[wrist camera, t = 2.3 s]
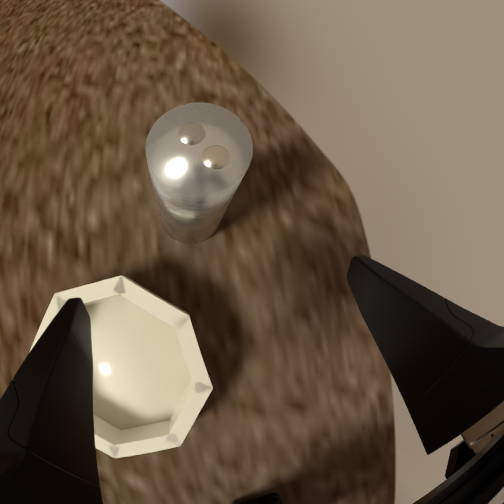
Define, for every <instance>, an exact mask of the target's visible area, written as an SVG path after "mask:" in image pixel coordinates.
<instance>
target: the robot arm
mask: <svg viewBox="0 0 504 504" xmlns="http://www.w3.org/2000/svg"><path fill="white" fill-rule="evenodd" d="M347 280H348V283H349V285H350V288H351V290H352V292H353V295H354V297H355V300H356V302H357V304H358V307H359V309H360V312H361V314H362V316H363V318H364V320H365V322H366V324H367V326H368V328H369V330H370V332H371V334H372V336H373V338H374V340H375V342H376V344H377V345H378V347H379V349H380V351H381V353H382V355H383V357H384V360H385V362H386V364H387V366H388V368H389V370H390V372H391V374H392V376H393V378H394V380H395V382H396V384H397V386H398V389H399V391H400V393H401V395H402V397H403V399H404V402H405V404H406V406H407V408H408V411H409V413H410V415H411V418H412V420H413V422H414V424H415V426H416V429H417V431H418V434H419V436H420V439H421V441H422V443H423V446H424V448H425V451H426V453H427V454H428V455H429V454H430V453H432V452H434V451H435V450H437V449H439V448H440V447H442V446H443V445H445V444H447V443H448V442H450V441H451V440H453V439H454V438H456V437H457V436H459V435H460V434H461V436H462V437H463V440H462V441H461V442H460V443H459V444H457V445H456V446H455V447H454V448H452V449H451V451H450V456H449V460H448V465H447V469H446V473H445V477H446V479H447V480H445V481H444V482H443V483H442V484H440V485H439V486H437V487H436V488H435V489H433V490H432V491H431V492H429V493H428V494H426V495H425V496H424V497H422V498H421V499H419V500H418V501H416V502H415V503H413V504H504V327H501V326H498V325H496V324H494V323H492V322H490V321H488V320H486V319H484V318H482V317H480V316H478V315H476V314H474V313H472V312H470V311H468V310H466V309H464V308H462V307H460V306H458V305H456V304H454V303H453V302H451V301H449V300H447V299H445V298H443V297H442V296H440V295H438V294H437V293H435V292H433V291H431V290H429V289H428V288H426V287H424V286H422V285H420V284H418V283H416V282H415V281H413V280H411V279H409V278H407V277H405V276H403V275H401V274H399V273H398V272H396V271H394V270H392V269H390V268H388V267H386V266H384V265H382V264H380V263H379V262H377V261H374V260H373V259H371V258H369V257H367V256H365V255H359V256H354V257H353V258H352V260H351V263H350V266H349V270H348V273H347ZM275 497H276V498H275ZM272 498H275V499H272ZM0 504H103V502H102V496H101V490H100V484H99V476H98V468H97V459H96V449H95V435H94V416H93V356H92V340H91V320H90V316H89V314H88V311H87V309H86V307H85V305H84V303H83V301H82V299H81V298H79V297H77V298H70V299H68V300H67V301H66V302H65V304H64V305H63V306H62V308H61V309H60V310H59V312H58V313H57V314H56V316H55V317H54V318H53V320H52V321H51V322H50V324H49V325H48V327H47V328H46V329H45V331H44V332H43V334H42V335H41V336H40V338H39V339H38V341H37V342H36V344H35V345H34V347H33V348H32V350H31V351H30V353H29V354H28V356H27V357H26V359H25V360H24V362H23V363H22V365H21V366H20V368H19V370H18V371H17V373H16V374H15V376H14V378H13V380H12V381H11V382H10V384H9V386H8V387H7V389H6V391H5V392H4V394H3V395H2V397H1V399H0ZM242 504H283V503H282V501H281V499H280V497H279V495H278V494H277V493H272V494H269V495H266V496H264V497H261V498H258V499H255V500H252V501H248V502H245V503H242Z"/></svg>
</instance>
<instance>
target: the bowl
mask: <svg viewBox="0 0 504 504" xmlns="http://www.w3.org/2000/svg"><path fill="white" fill-rule="evenodd" d="M77 297H79V298H81V299H82V301H83V303H84V305H85V307H86V309H87V311H88V314H89V316H90V320H91V340H92V356H93V416H94V435H95V448H97V449H99V450H101V451H102V452H104V453H106V454H108V455H110V456H112V457H114V458H120V457H127V456H133V455H139V454H145V453H150V452H155V451H160V450H165V449H169V448H174V447H178V446H181V444H182V442H183V440H184V439H185V437H186V435H187V434H188V432H189V430H190V428H191V427H192V425H193V423H194V421H195V420H196V418H197V416H198V414H199V412H200V411H201V409H202V407H203V405H204V404H205V402H206V400H207V398H208V396H209V395H210V393H211V391H212V389H213V386H212V384H211V381H210V378H209V376H208V373H207V370H206V367H205V364H204V361H203V358H202V355H201V352H200V349H199V346H198V343H197V340H196V336H195V333H194V330H193V327H192V323H191V320H190V317H189V314H188V313H187V312H185V311H184V310H182V309H180V308H178V307H177V306H175V305H173V304H171V303H170V302H168V301H166V300H164V299H163V298H161V297H159V296H158V295H156V294H154V293H153V292H151V291H149V290H148V289H146V288H144V287H143V286H141V285H139V284H138V283H136V282H135V281H133V280H132V279H129V278H127V277H125V276H122V275H121V276H117V277H114V278H110V279H106V280H103V281H99V282H95V283H92V284H88V285H84V286H81V287H77V288H73V289H70V290H66V291H63V292H59V293H55V294H54V297H53V299H52V301H51V303H50V305H49V307H48V309H47V312H46V314H45V316H44V318H43V321H42V323H41V325H40V328H39V330H38V332H37V335H36V337H35V340H34V342H33V345H32V347H31V350H32V348H33V347H34V345H35V344H36V342H37V341H38V339H39V338H40V336H41V335H42V334H43V332H44V331H45V329H46V328H47V327H48V325H49V324H50V322H51V321H52V320H53V318H54V317H55V316H56V314H57V313H58V312H59V310H60V309H61V308H62V306H63V305H64V304H65V302H66V301H67V300H68V299H70V298H77ZM31 350H30V351H31Z"/></svg>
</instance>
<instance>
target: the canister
mask: <svg viewBox="0 0 504 504" xmlns="http://www.w3.org/2000/svg"><path fill="white" fill-rule="evenodd" d="M252 155H253V144H252V139H251V135H250V133H249V131H248V129H247V127H246V126H245V124H244V123H243V122H242V121H241V120H240V119H239V118H238V117H237V116H236V115H235V114H233V113H232V112H230V111H229V110H227V109H225V108H223V107H220V106H217V105H214V104H209V103H189V104H184V105H181V106H178V107H175V108H173V109H171V110H169V111H168V112H166V113H165V114H163V115H162V116H161V117H160V118H159V119H158V120H157V121H156V122H155V124H154V125H153V126H152V128H151V130H150V132H149V134H148V137H147V141H146V157H147V162H148V166H149V171H150V176H151V181H152V185H153V190H154V194H155V198H156V203H157V207H158V211H159V215H160V219H161V223H162V226H163V228H164V229H165V231H166V232H167V233H168V235H170V236H171V237H172V238H173V239H175V240H177V241H179V242H182V243H189V244H192V243H198V242H202V241H204V240H206V239H207V238H209V237H210V236H211V235H212V234H213V233H214V232H215V231H216V229H217V227H218V225H219V223H220V221H221V220H222V218H223V216H224V214H225V212H226V210H227V208H228V206H229V204H230V202H231V200H232V198H233V196H234V194H235V192H236V190H237V188H238V186H239V184H240V182H241V181H242V179H243V177H244V175H245V173H246V171H247V169H248V167H249V165H250V163H251V160H252Z"/></svg>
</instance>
